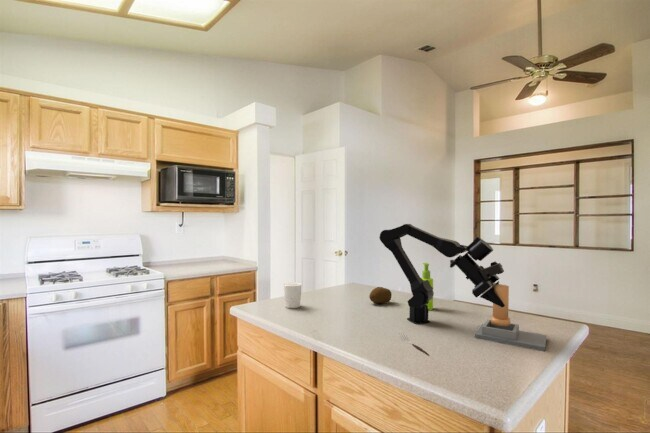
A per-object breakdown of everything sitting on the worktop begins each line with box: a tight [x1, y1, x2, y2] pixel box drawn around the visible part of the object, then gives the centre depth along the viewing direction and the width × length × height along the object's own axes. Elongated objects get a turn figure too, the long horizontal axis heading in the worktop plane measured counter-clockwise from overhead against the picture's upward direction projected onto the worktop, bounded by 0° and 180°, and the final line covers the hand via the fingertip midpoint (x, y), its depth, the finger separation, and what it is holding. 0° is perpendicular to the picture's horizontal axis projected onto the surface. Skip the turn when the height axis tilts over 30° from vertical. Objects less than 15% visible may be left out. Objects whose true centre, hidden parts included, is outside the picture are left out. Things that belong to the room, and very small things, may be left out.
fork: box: [398, 333, 430, 357], centre depth 109 cm, size 3×16×2 cm, turn 17°
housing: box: [474, 319, 547, 352], centre depth 117 cm, size 20×13×4 cm, turn 55°
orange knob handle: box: [490, 283, 511, 326], centre depth 118 cm, size 6×6×13 cm
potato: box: [369, 286, 392, 304], centre depth 162 cm, size 8×12×8 cm, turn 130°
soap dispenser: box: [420, 262, 434, 311], centre depth 154 cm, size 6×7×20 cm
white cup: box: [283, 282, 303, 309], centre depth 156 cm, size 8×8×10 cm
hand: (505, 304), depth 118 cm, fingers closed on orange knob handle, 5 cm apart
